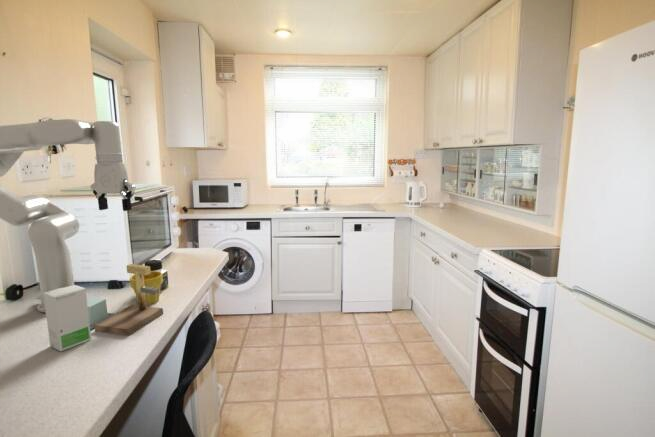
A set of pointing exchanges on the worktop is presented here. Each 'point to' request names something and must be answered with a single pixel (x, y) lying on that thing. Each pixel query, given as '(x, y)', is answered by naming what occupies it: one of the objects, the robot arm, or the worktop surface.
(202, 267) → the worktop surface
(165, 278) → the medicine bottle
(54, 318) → the skincare box
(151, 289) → the t key
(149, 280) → the plant pot
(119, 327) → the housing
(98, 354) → the worktop surface
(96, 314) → the mint green cube
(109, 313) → the mat
